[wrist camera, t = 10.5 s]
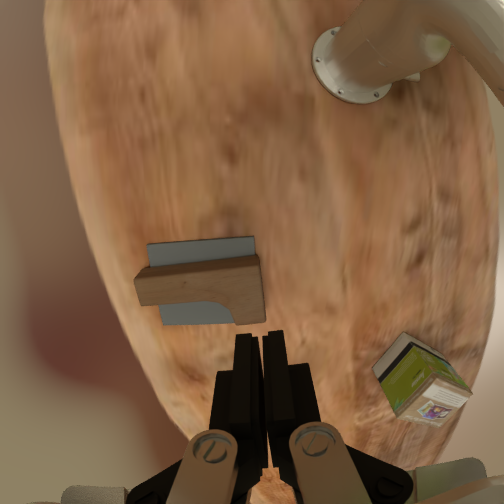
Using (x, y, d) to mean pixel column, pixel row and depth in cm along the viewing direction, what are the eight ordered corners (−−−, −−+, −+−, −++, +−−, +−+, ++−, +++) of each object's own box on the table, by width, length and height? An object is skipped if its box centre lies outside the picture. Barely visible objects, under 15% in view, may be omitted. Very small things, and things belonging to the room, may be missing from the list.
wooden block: (266, 323, 42) (148, 332, 42) (265, 307, 46) (155, 317, 46) (259, 265, 39) (131, 279, 39) (258, 253, 43) (141, 267, 44)
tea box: (441, 351, 52) (475, 394, 38) (412, 384, 54) (438, 430, 40) (402, 329, 49) (438, 379, 35) (369, 367, 52) (395, 421, 38)
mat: (253, 235, 43) (253, 237, 42) (259, 319, 47) (259, 321, 47) (147, 243, 43) (146, 245, 42) (164, 323, 48) (163, 325, 47)
